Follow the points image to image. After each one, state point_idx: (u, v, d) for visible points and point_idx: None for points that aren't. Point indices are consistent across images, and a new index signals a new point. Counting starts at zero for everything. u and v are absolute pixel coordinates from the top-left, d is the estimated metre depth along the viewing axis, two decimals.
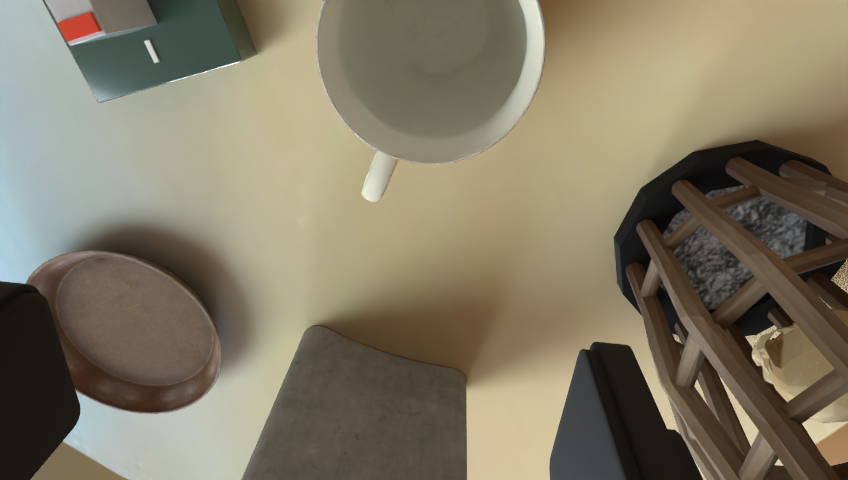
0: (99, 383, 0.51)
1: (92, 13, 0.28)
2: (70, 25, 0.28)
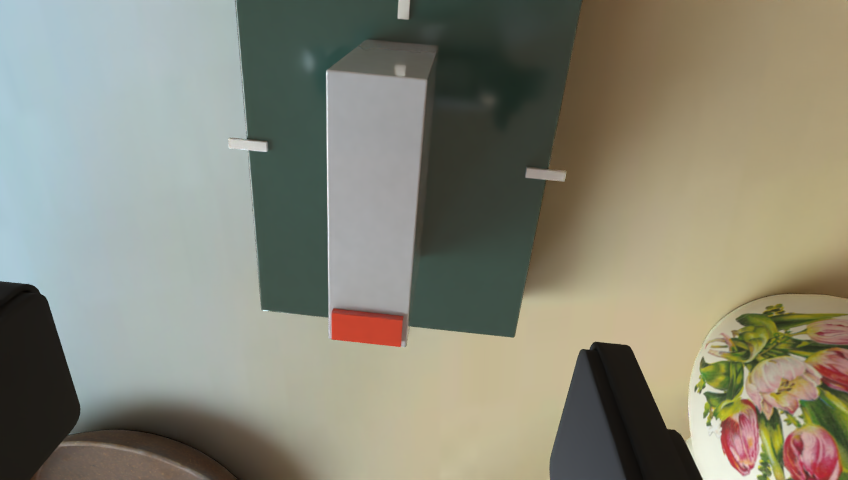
0: None
1: (403, 317, 0.15)
2: (354, 323, 0.15)
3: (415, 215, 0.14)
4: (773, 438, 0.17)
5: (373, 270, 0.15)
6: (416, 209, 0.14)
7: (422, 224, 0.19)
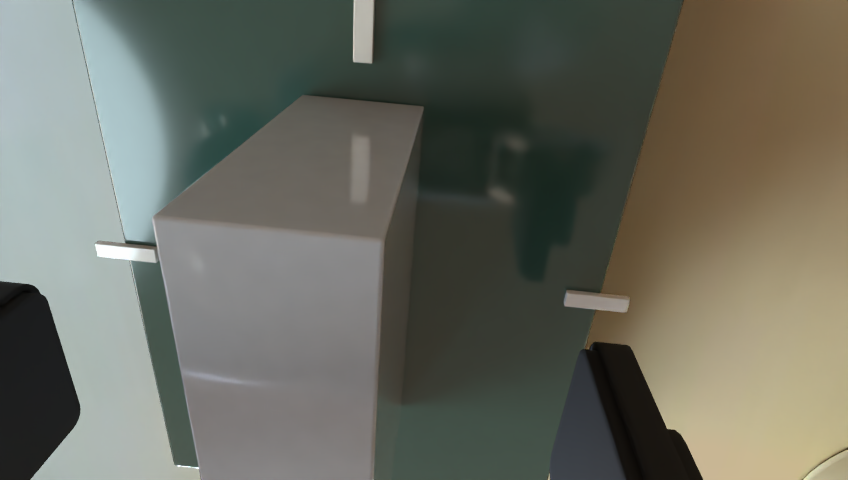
0: None
1: None
2: None
3: (371, 473, 0.07)
4: None
5: None
6: (372, 463, 0.07)
7: (401, 378, 0.12)
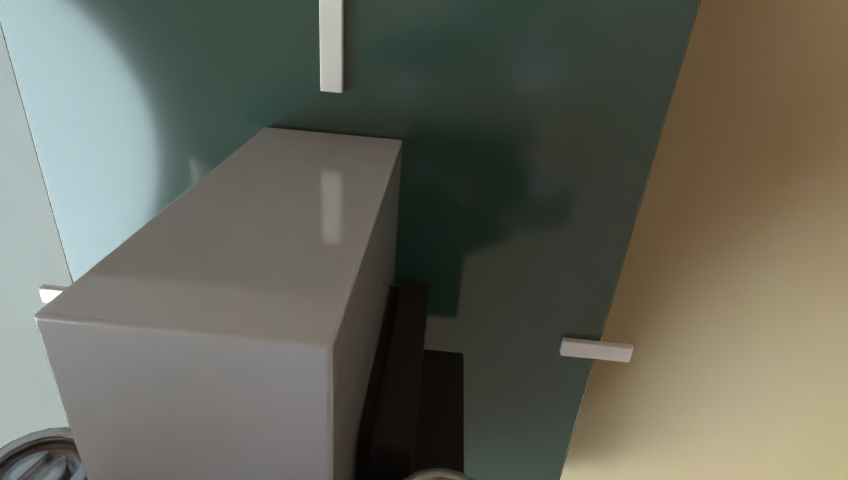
0: None
1: None
2: None
3: None
4: None
5: None
6: None
7: None
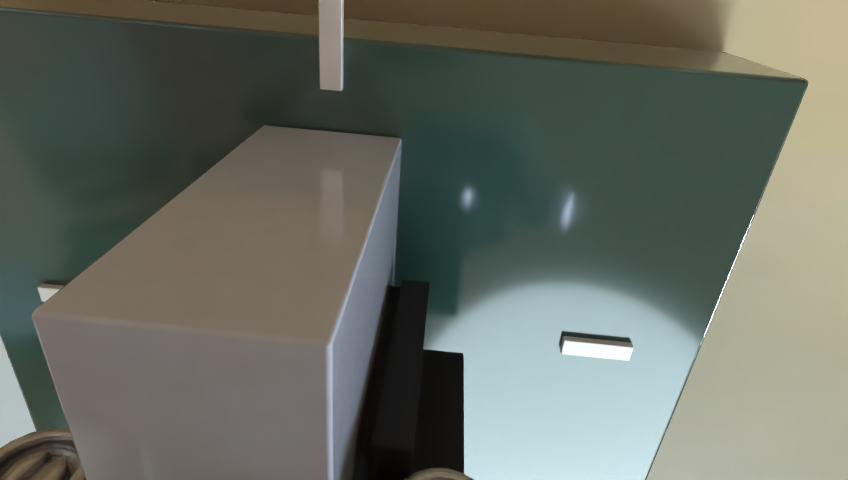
0: None
1: None
2: None
3: None
4: None
5: None
6: None
7: None
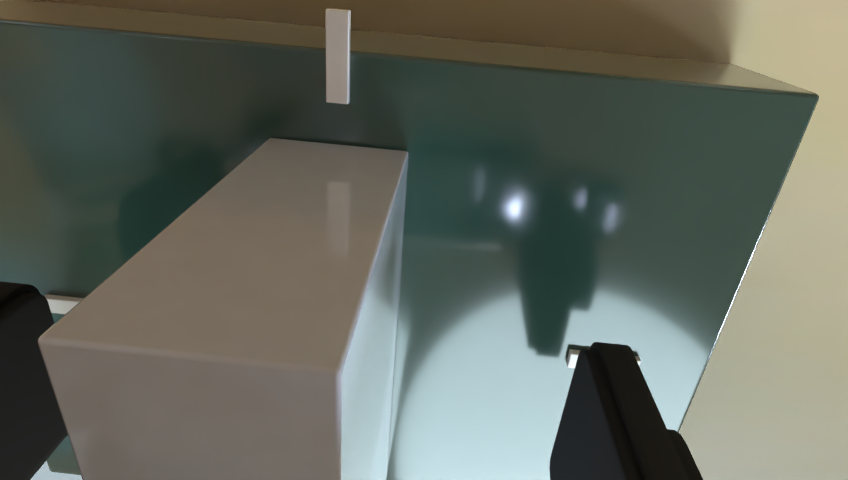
0: None
1: None
2: None
3: None
4: None
5: None
6: None
7: (385, 448, 0.11)
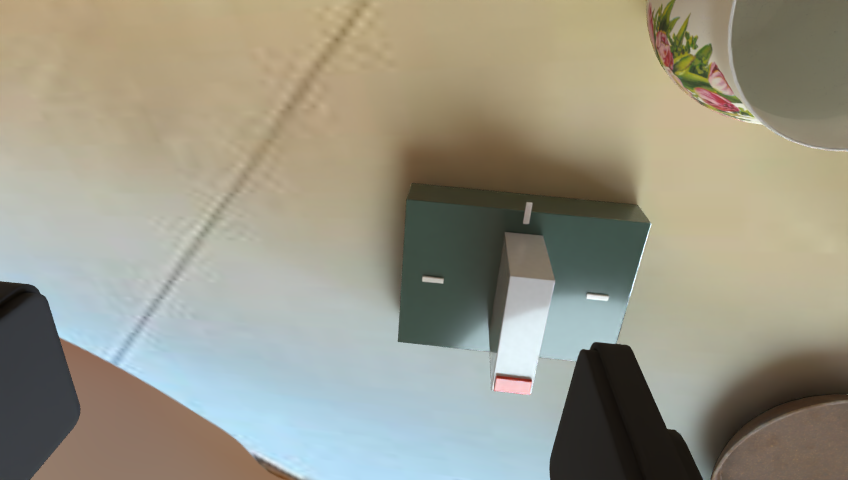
0: None
1: (531, 380, 0.31)
2: (507, 383, 0.31)
3: (543, 334, 0.29)
4: (712, 105, 0.24)
5: (519, 358, 0.30)
6: (543, 331, 0.29)
7: None
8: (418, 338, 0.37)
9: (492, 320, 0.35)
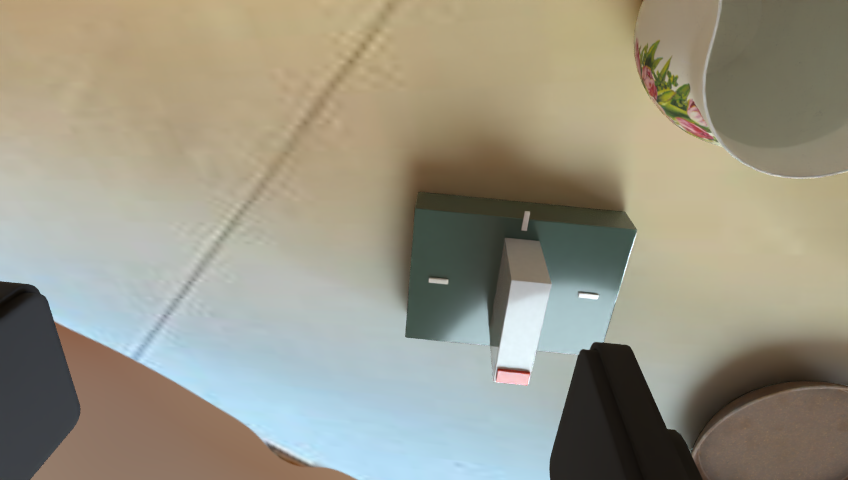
0: None
1: (529, 372, 0.34)
2: (507, 375, 0.34)
3: (540, 331, 0.33)
4: (690, 131, 0.27)
5: (519, 353, 0.34)
6: None
7: None
8: (424, 334, 0.40)
9: (492, 317, 0.38)
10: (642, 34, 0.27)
